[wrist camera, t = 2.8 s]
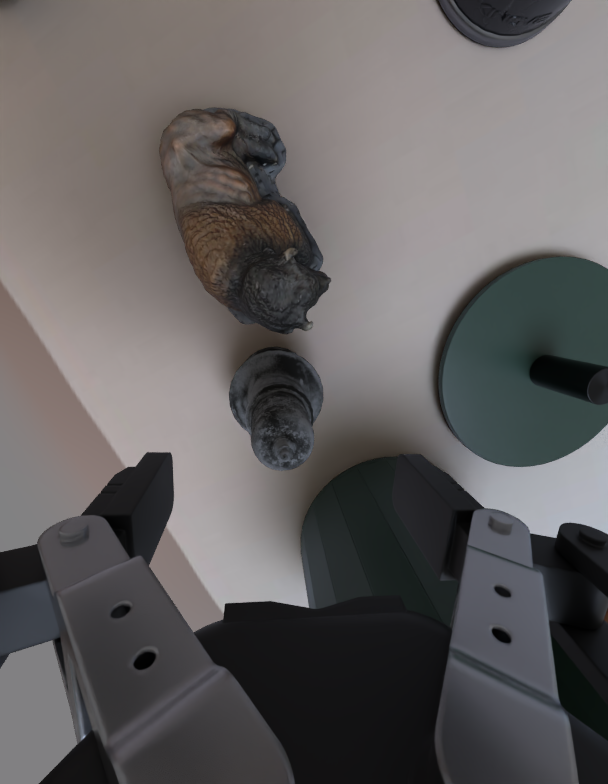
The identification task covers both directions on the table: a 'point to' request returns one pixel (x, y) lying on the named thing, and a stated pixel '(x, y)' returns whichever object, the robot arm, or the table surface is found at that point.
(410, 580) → the bin
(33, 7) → the table surface
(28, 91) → the table surface
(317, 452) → the table surface
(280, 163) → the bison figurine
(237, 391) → the salt shaker
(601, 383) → the bin lid
